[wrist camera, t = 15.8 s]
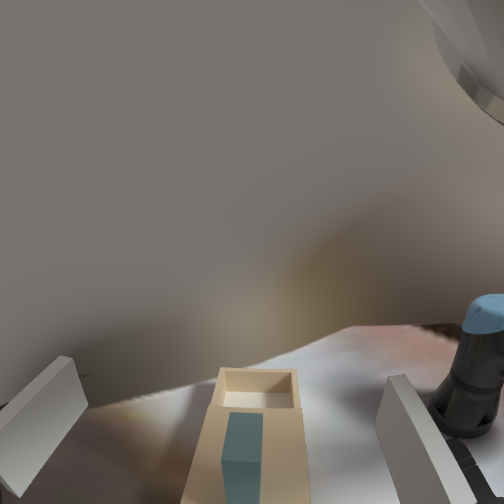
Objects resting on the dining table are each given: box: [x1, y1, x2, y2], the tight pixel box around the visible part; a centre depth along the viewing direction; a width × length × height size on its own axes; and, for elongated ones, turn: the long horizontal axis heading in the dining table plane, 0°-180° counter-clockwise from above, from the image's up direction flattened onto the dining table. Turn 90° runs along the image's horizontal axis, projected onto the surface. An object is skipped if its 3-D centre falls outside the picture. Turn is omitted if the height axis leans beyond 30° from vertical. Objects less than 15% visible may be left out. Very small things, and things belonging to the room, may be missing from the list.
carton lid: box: [180, 405, 311, 504], centre depth 29 cm, size 20×14×12 cm
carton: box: [210, 367, 301, 408], centre depth 43 cm, size 20×14×6 cm
